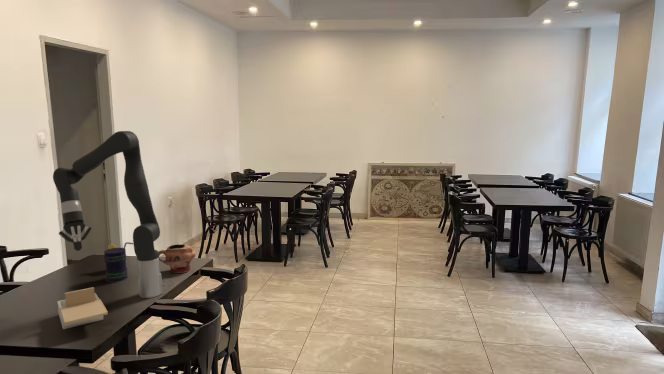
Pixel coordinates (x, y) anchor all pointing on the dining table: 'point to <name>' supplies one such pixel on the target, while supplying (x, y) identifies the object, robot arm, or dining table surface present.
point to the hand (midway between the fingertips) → (78, 250)
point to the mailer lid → (82, 306)
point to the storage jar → (115, 264)
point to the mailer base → (65, 326)
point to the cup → (115, 247)
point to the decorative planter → (178, 257)
